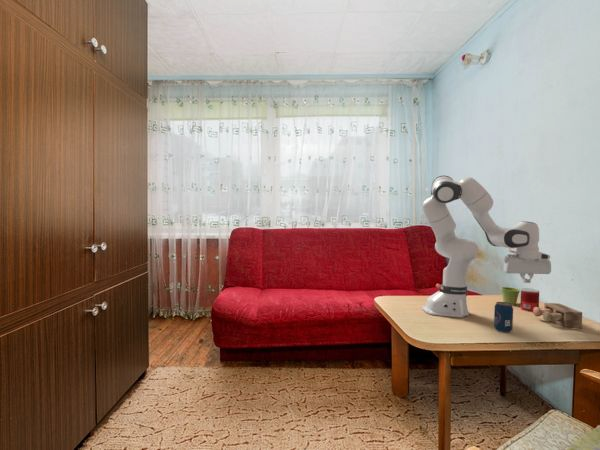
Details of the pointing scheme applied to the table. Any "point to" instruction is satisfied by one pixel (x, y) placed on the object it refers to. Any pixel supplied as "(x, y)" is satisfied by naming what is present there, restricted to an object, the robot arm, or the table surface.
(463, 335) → the table surface
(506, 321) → the soda can
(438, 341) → the table surface
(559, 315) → the oak plug
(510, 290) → the plant pot
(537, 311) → the terracotta plug
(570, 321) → the socket block
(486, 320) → the table surface
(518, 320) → the table surface
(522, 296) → the canned food
